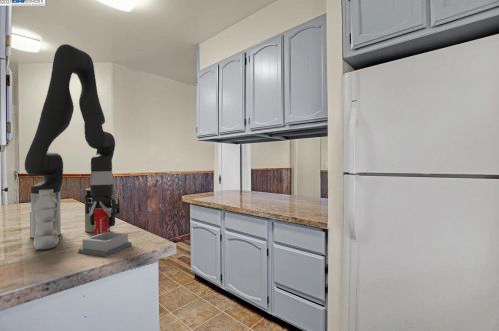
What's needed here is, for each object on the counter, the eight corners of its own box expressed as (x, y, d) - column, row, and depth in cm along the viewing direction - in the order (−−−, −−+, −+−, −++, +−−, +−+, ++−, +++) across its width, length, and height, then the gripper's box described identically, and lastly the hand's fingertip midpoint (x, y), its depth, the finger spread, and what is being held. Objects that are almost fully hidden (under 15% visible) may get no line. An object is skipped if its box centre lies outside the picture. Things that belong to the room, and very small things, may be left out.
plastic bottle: (37, 247, 88) (37, 189, 87) (61, 244, 90) (60, 188, 90) (30, 253, 82) (29, 191, 81) (55, 250, 84) (55, 190, 84)
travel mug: (102, 232, 107) (102, 189, 106) (81, 233, 105) (81, 189, 105) (109, 227, 114) (108, 187, 114) (89, 228, 113) (89, 187, 113)
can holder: (78, 252, 82) (78, 239, 82) (106, 242, 93) (106, 231, 92) (105, 256, 79) (105, 242, 79) (131, 245, 89) (131, 233, 89)
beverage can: (103, 241, 94) (102, 208, 94) (91, 240, 95) (91, 208, 95) (113, 237, 99) (113, 206, 99) (101, 236, 101) (101, 206, 100)
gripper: (78, 183, 95) (79, 226, 96) (108, 184, 91) (109, 229, 91) (95, 182, 103) (96, 222, 103) (124, 182, 98) (125, 224, 99)
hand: (102, 225), depth 97 cm, fingers open, 8 cm apart
